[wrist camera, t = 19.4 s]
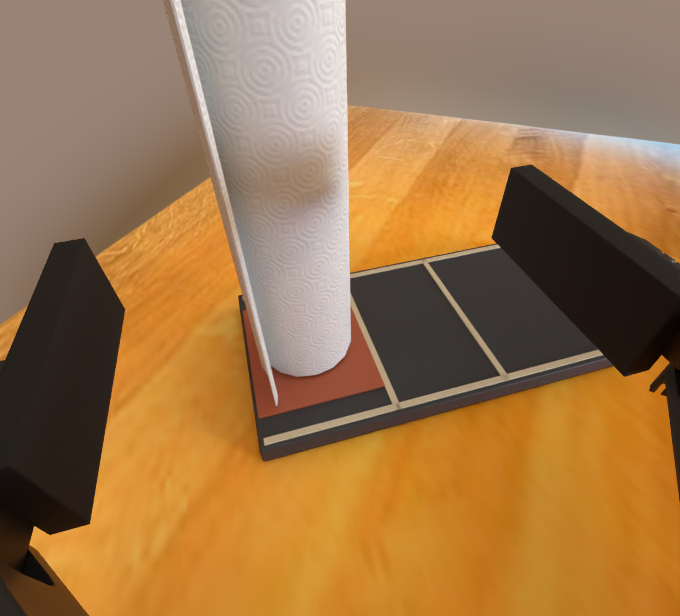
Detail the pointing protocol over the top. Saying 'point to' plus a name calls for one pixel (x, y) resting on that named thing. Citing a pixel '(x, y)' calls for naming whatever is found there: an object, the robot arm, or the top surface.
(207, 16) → the paper towel roll
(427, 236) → the top surface
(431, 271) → the grid board
